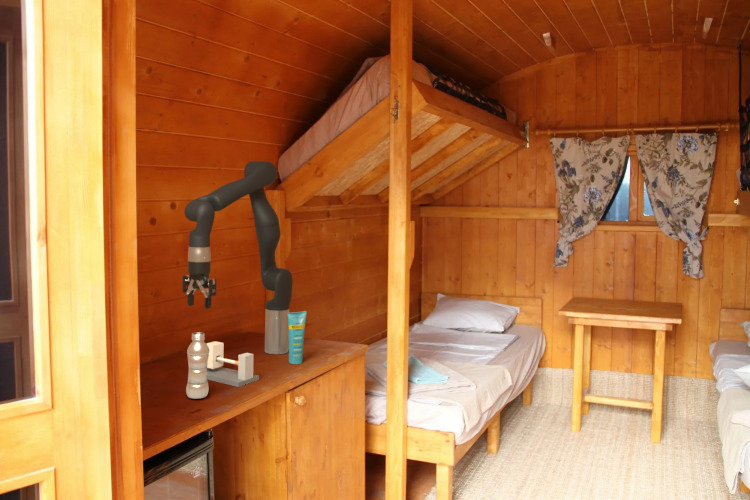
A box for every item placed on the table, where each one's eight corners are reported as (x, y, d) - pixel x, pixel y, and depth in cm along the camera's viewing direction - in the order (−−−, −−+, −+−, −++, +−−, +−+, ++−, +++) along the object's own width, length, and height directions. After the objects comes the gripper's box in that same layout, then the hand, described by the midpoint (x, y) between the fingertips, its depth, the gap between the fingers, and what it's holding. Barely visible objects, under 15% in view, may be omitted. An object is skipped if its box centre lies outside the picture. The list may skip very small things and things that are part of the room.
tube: (289, 365, 244) (290, 313, 242) (283, 362, 248) (285, 311, 246) (307, 363, 248) (309, 312, 246) (301, 360, 252) (303, 309, 250)
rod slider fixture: (211, 368, 236) (212, 342, 235) (259, 380, 224) (259, 352, 223) (190, 375, 227) (190, 347, 226) (238, 387, 216) (238, 358, 215)
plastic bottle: (188, 394, 207) (188, 331, 205) (210, 394, 207) (211, 331, 205) (184, 401, 200) (184, 335, 198) (206, 401, 201) (207, 336, 199)
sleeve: (214, 363, 231) (215, 341, 230) (223, 365, 229) (223, 343, 228) (204, 366, 227) (204, 343, 226) (212, 368, 225) (213, 345, 224)
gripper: (222, 260, 228) (222, 308, 229) (192, 257, 235) (192, 303, 237) (206, 262, 221) (206, 311, 223) (176, 258, 229) (176, 306, 230)
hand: (199, 306), depth 230 cm, fingers open, 7 cm apart
